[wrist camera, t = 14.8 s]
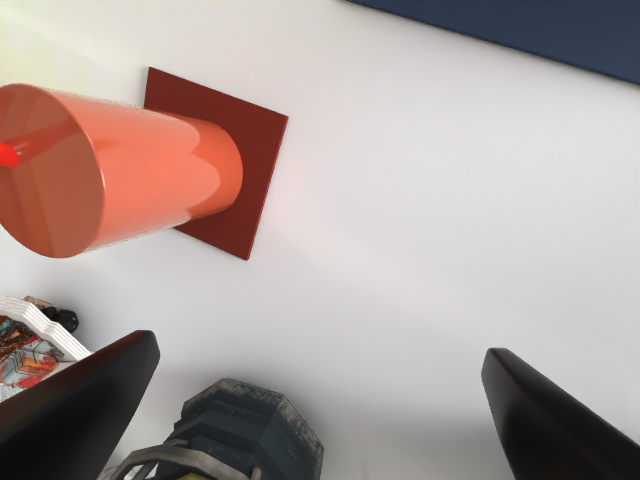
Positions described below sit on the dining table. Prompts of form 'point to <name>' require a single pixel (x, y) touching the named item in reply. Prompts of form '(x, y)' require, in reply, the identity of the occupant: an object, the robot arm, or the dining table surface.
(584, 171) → the dining table surface
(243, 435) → the lantern
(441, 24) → the blue mat
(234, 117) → the red mat
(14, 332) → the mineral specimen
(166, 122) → the red spoon pot
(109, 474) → the box
